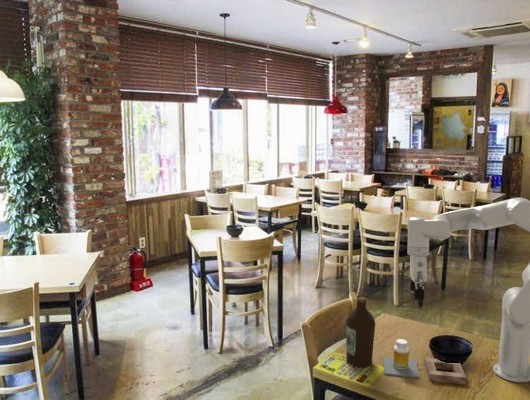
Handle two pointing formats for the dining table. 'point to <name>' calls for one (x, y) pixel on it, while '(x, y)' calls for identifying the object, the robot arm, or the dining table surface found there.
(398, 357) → the supplement bottle
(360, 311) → the olive oil
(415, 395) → the dining table surface
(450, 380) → the frame
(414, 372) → the slate coaster
